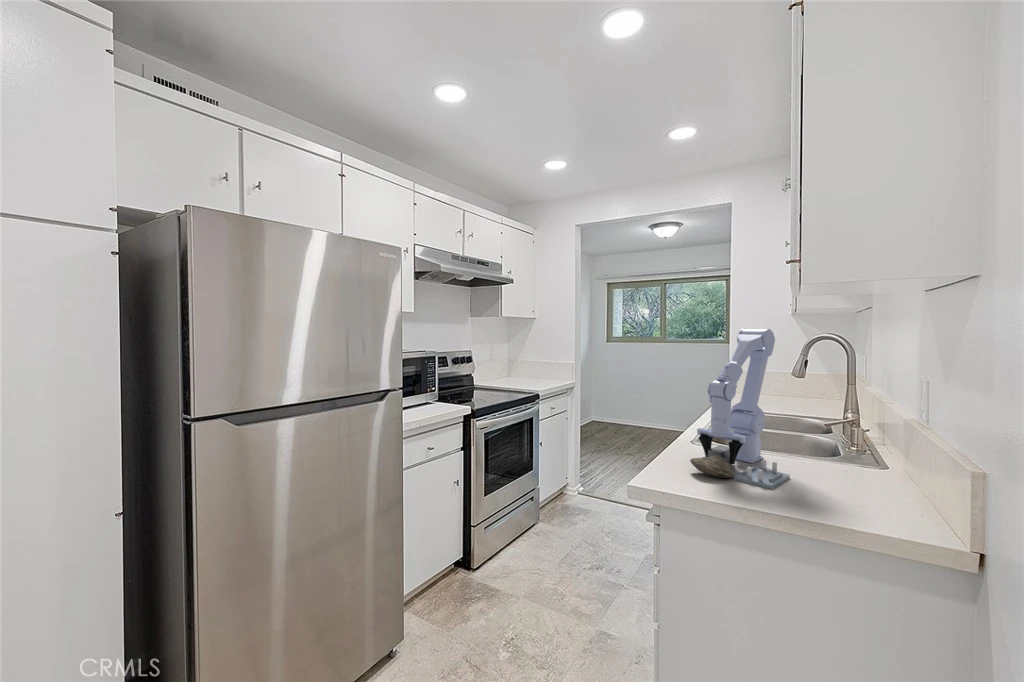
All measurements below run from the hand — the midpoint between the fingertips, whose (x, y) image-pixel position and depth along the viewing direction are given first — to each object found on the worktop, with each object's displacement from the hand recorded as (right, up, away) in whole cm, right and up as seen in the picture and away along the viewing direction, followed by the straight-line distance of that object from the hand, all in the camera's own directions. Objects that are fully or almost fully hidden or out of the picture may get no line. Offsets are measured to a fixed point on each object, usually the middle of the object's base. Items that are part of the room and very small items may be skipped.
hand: (720, 460), depth 141 cm
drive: (0, -2, 0) cm, 2 cm away
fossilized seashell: (-7, -2, -9) cm, 11 cm away
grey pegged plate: (+7, -2, -12) cm, 14 cm away
